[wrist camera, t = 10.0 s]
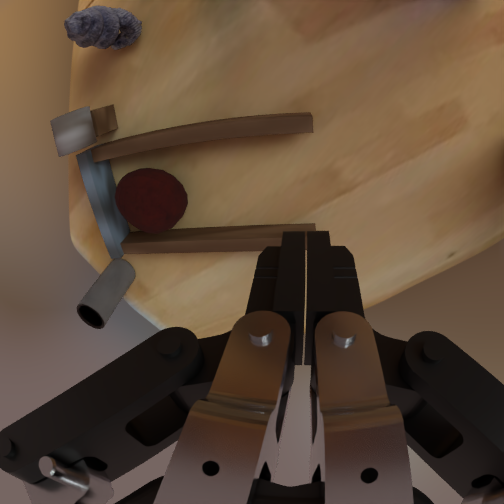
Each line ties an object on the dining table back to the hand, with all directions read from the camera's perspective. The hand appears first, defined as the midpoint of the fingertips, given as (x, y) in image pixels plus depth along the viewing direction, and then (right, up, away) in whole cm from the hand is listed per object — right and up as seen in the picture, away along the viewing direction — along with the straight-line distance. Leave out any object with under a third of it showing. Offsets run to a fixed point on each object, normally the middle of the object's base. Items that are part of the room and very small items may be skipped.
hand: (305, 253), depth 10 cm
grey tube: (-21, -3, +31) cm, 38 cm away
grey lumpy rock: (-15, +24, +12) cm, 31 cm away
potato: (-13, +8, +23) cm, 27 cm away
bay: (-8, +10, +21) cm, 24 cm away
